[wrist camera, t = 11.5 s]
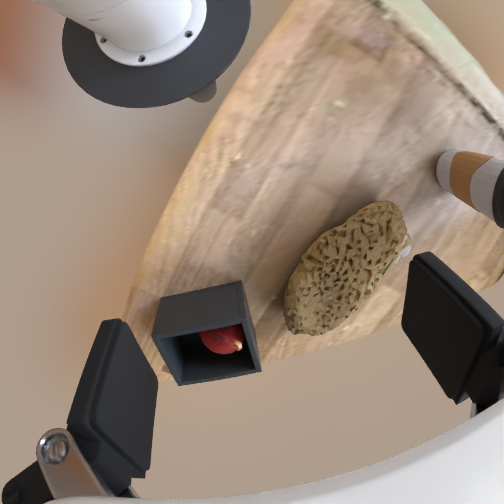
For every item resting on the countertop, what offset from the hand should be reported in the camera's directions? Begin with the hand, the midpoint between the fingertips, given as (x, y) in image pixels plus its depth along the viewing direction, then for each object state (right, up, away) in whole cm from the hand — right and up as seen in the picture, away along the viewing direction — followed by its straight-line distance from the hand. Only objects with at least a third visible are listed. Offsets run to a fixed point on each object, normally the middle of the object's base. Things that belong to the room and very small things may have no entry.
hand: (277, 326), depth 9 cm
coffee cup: (+28, +14, +27) cm, 42 cm away
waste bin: (-7, -7, +33) cm, 35 cm away
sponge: (+11, +1, +32) cm, 34 cm away
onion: (-7, -7, +32) cm, 34 cm away
